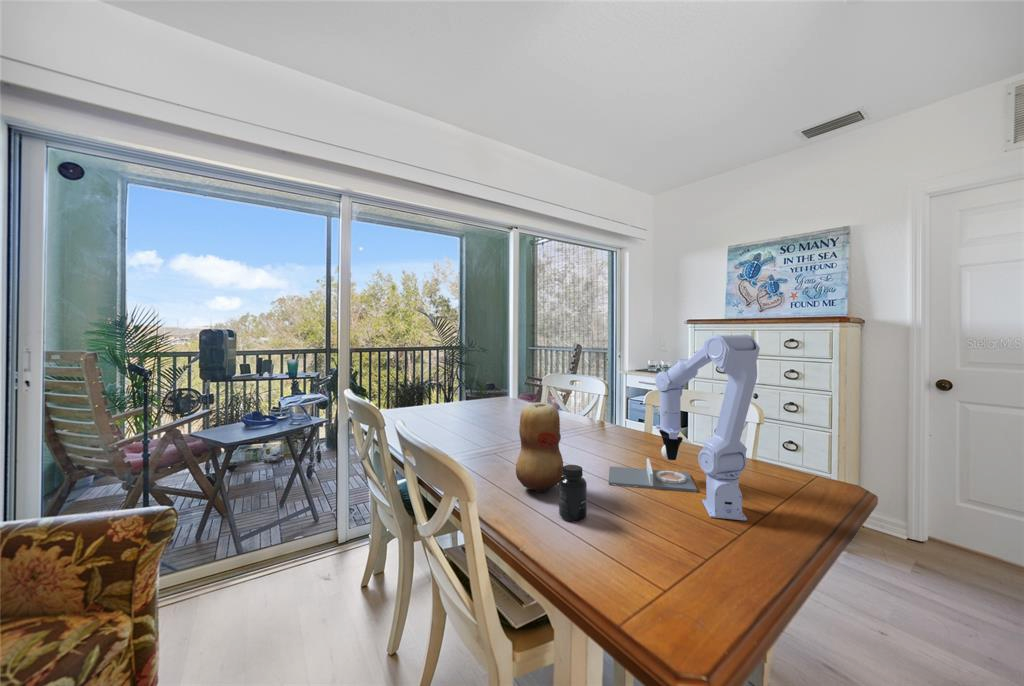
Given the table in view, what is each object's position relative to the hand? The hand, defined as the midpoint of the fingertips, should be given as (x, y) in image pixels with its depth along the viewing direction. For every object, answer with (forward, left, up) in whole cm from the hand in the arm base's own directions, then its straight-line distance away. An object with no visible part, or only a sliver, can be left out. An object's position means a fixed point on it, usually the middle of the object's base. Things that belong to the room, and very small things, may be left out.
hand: (670, 456), depth 115 cm
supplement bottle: (-29, +26, -8) cm, 40 cm away
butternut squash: (-15, +37, -8) cm, 41 cm away
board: (0, +6, -7) cm, 10 cm away
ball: (0, 0, +2) cm, 2 cm away
